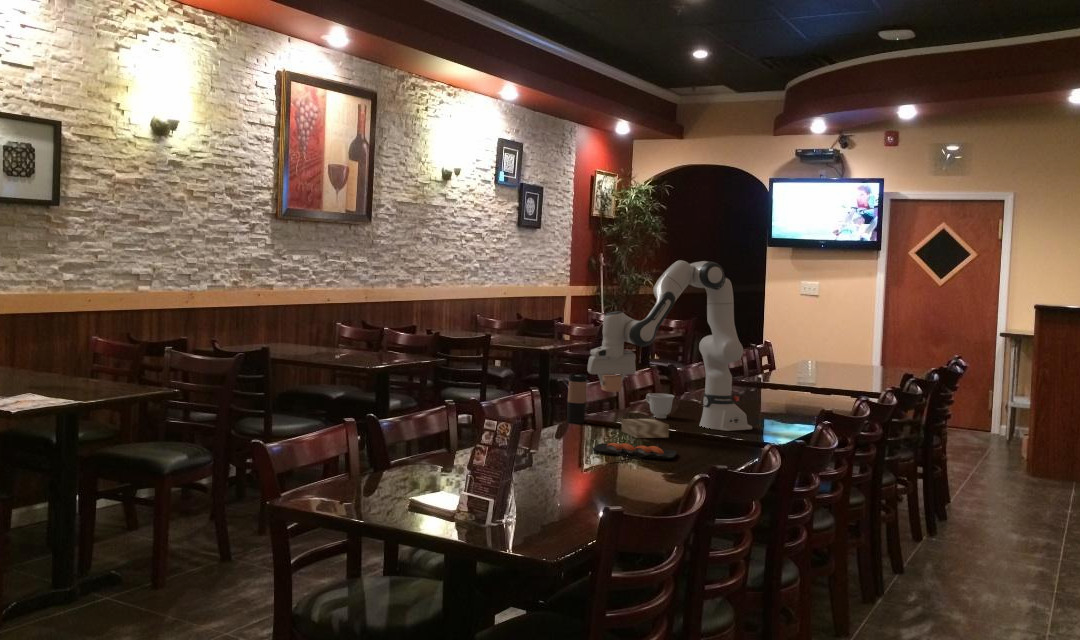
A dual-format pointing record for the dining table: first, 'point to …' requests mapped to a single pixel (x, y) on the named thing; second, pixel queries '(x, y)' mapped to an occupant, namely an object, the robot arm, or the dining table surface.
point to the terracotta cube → (611, 383)
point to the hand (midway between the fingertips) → (611, 385)
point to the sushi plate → (635, 451)
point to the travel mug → (576, 398)
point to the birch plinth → (645, 428)
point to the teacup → (660, 404)
